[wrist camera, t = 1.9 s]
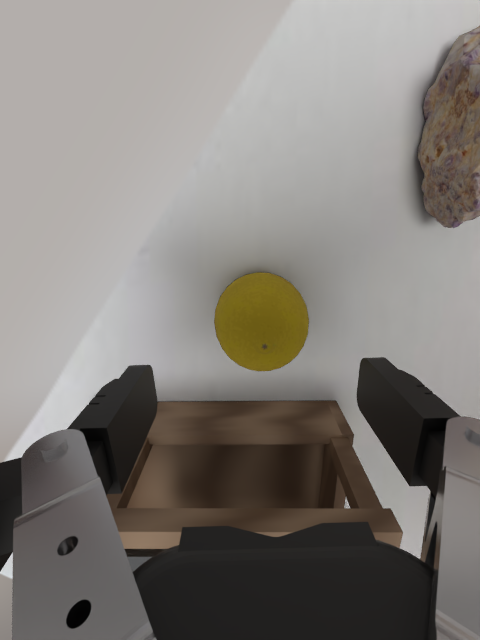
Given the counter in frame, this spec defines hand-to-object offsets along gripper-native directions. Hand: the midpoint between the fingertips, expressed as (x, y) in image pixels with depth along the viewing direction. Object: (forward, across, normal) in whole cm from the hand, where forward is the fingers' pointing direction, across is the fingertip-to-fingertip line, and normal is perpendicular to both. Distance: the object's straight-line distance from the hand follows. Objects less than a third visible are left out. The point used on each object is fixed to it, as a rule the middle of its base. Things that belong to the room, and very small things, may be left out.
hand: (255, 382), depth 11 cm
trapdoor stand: (+11, +3, +15) cm, 19 cm away
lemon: (+11, -1, 0) cm, 11 cm away
